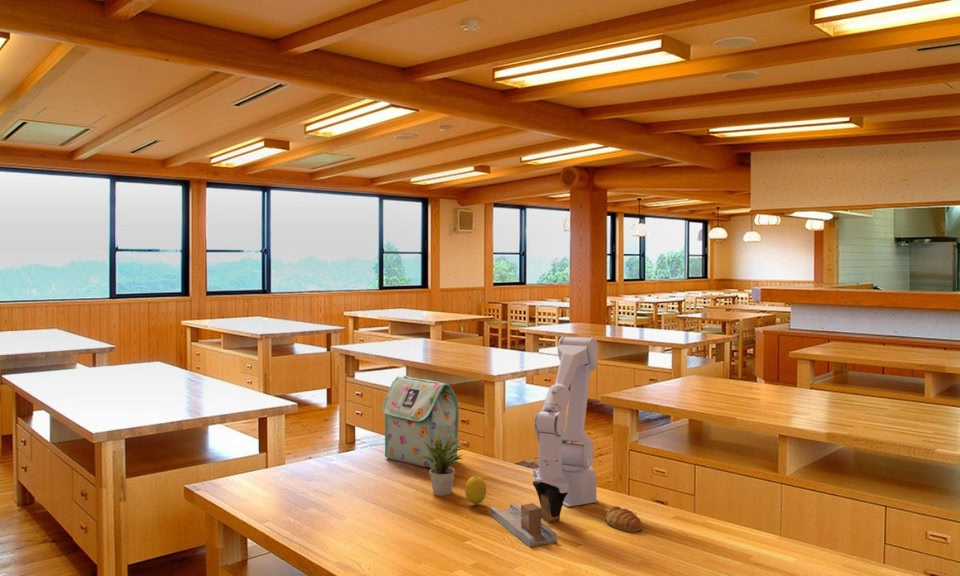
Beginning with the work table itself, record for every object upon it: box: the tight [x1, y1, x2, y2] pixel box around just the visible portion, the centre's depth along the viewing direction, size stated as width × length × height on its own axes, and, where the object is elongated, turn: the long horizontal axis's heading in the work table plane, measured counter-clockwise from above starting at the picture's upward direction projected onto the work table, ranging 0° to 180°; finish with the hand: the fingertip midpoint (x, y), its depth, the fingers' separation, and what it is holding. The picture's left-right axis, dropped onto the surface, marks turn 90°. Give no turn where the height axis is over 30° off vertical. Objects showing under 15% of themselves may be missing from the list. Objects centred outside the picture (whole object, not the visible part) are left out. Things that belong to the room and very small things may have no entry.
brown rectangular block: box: [540, 493, 561, 524], centre depth 175 cm, size 3×4×6 cm
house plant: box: [421, 435, 469, 497], centre depth 194 cm, size 14×14×16 cm
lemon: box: [464, 475, 487, 506], centre depth 185 cm, size 6×6×8 cm
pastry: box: [604, 505, 643, 533], centre depth 170 cm, size 9×7×4 cm
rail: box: [489, 502, 558, 548], centre depth 169 cm, size 7×22×7 cm, turn 23°
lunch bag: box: [381, 375, 460, 469], centre depth 227 cm, size 23×16×27 cm
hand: (550, 512), depth 175 cm, fingers closed on brown rectangular block, 4 cm apart
